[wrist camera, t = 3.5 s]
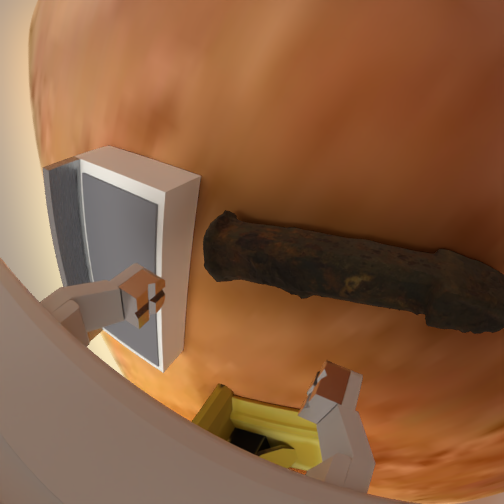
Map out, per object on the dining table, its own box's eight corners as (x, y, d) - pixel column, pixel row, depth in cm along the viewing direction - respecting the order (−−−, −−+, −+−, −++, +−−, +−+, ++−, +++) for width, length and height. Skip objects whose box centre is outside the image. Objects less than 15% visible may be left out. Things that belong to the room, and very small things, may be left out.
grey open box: (201, 175, 20) (129, 210, 14) (183, 349, 31) (146, 392, 26) (108, 145, 22) (42, 167, 17) (118, 307, 33) (80, 340, 28)
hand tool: (232, 254, 21) (198, 295, 18) (227, 203, 19) (187, 238, 16) (490, 308, 14) (501, 362, 11) (514, 259, 12) (536, 311, 9)
